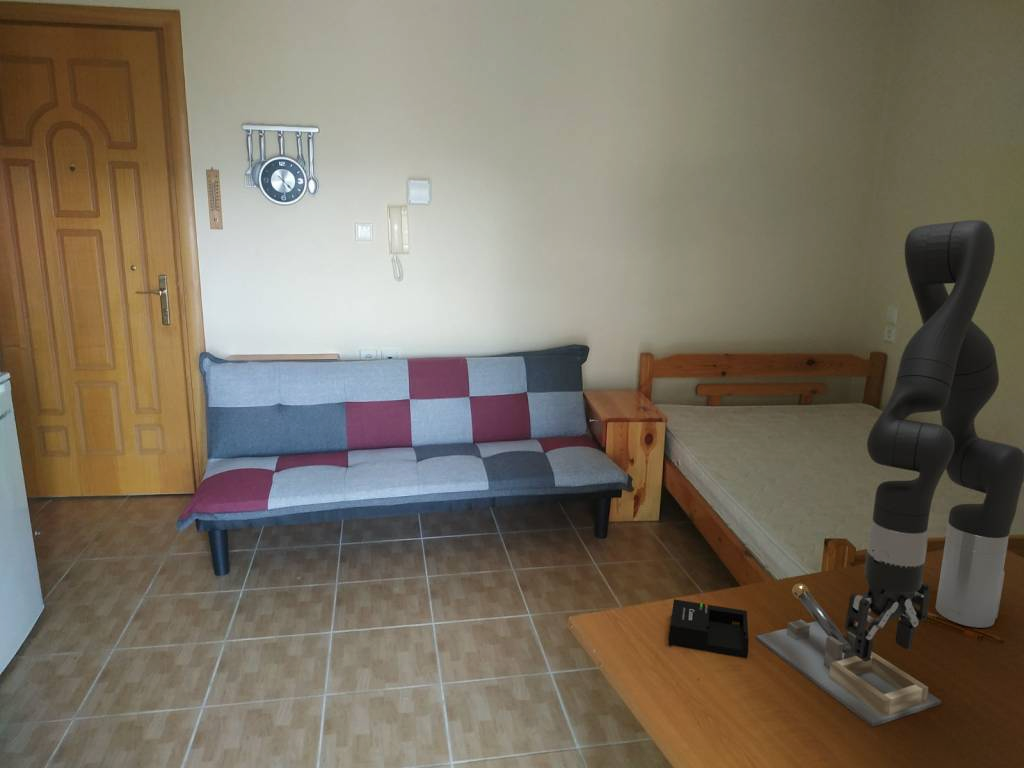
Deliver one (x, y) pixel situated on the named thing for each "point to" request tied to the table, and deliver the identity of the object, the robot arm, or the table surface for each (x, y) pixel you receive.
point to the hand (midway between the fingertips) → (882, 652)
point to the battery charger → (709, 628)
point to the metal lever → (820, 615)
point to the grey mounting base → (849, 673)
